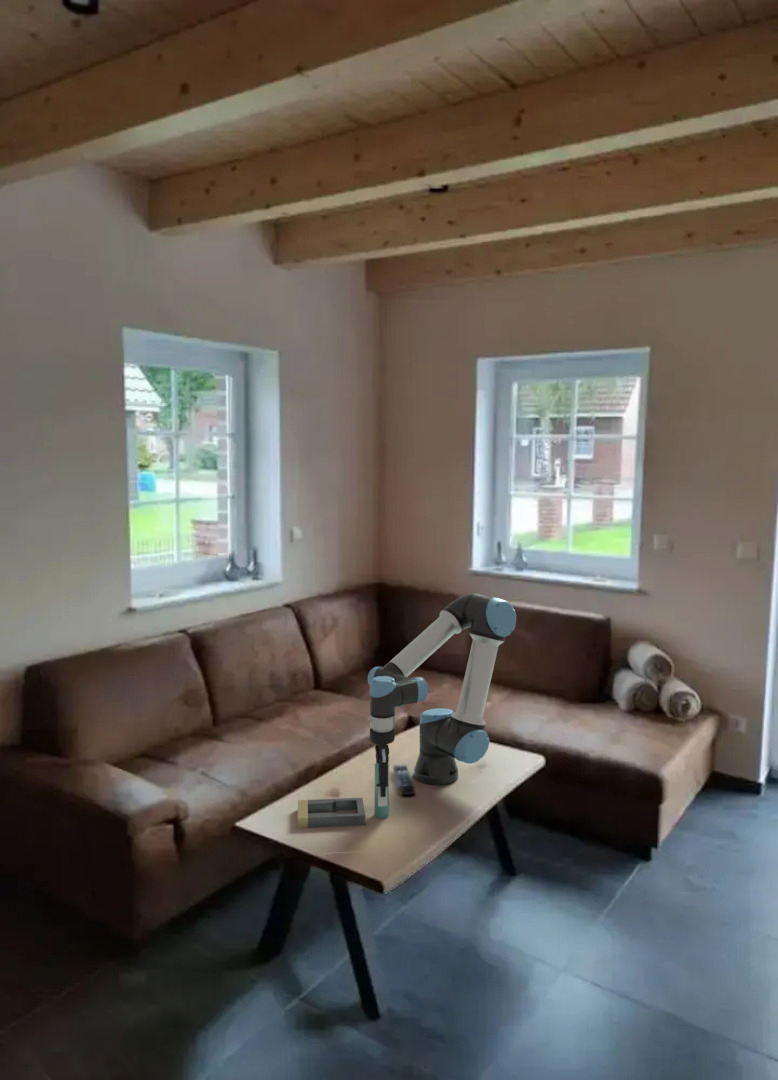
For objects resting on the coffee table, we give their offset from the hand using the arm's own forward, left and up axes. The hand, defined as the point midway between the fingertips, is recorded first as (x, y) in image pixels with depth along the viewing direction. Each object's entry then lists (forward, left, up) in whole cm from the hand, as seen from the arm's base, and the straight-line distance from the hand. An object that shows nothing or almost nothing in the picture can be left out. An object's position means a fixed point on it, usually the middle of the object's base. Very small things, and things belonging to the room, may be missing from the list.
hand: (381, 801), depth 240 cm
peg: (0, 0, -4) cm, 4 cm away
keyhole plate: (+15, 0, -4) cm, 16 cm away
